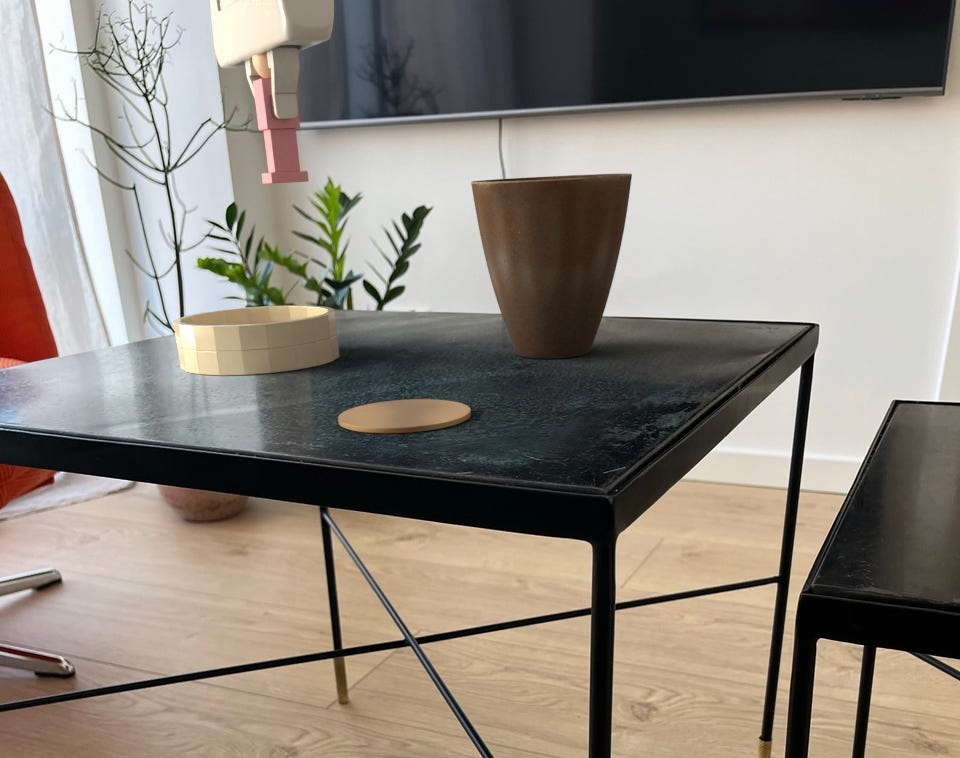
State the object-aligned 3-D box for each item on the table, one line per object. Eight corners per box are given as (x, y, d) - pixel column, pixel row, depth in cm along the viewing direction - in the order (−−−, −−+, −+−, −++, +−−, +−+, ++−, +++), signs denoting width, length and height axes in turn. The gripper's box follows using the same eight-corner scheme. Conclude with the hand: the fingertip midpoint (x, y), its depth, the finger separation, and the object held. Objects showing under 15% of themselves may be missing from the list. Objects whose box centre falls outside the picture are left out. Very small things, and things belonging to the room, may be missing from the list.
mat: (367, 440, 70) (367, 434, 70) (320, 415, 79) (319, 410, 78) (494, 420, 74) (494, 414, 74) (436, 398, 83) (436, 393, 82)
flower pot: (650, 359, 95) (654, 171, 89) (494, 371, 93) (487, 180, 86) (603, 337, 109) (604, 173, 102) (466, 347, 106) (458, 180, 100)
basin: (203, 388, 92) (194, 331, 89) (167, 366, 104) (159, 315, 102) (362, 368, 98) (357, 314, 96) (310, 349, 110) (305, 301, 108)
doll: (272, 183, 83) (254, 35, 79) (261, 184, 85) (243, 40, 81) (309, 181, 84) (294, 35, 80) (298, 182, 87) (282, 40, 82)
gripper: (181, -56, 84) (207, 129, 90) (252, -121, 68) (279, 112, 73) (255, -53, 87) (276, 127, 93) (340, -114, 70) (360, 110, 76)
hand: (278, 121), depth 83 cm, fingers closed on doll, 2 cm apart
